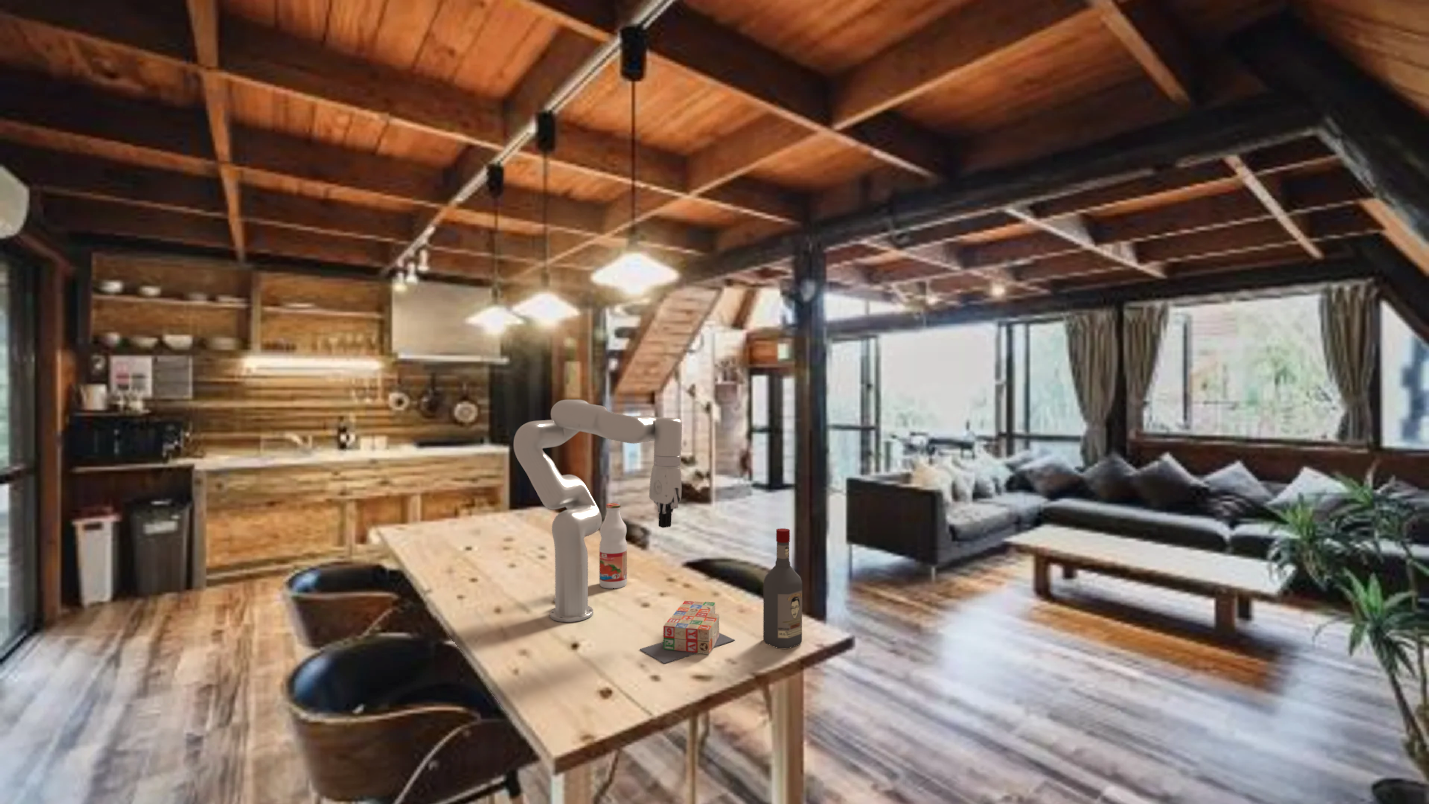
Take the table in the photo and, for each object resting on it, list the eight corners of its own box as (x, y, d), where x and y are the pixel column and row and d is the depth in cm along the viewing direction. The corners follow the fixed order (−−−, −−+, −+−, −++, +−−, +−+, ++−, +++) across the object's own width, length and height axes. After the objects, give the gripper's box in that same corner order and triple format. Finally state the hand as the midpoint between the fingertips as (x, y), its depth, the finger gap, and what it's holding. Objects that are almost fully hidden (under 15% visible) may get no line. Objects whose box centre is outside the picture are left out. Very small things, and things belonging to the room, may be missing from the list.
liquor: (758, 640, 171) (758, 529, 171) (782, 632, 177) (782, 524, 177) (782, 651, 164) (783, 535, 164) (806, 642, 170) (807, 530, 170)
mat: (639, 650, 165) (639, 648, 165) (708, 629, 179) (708, 628, 179) (664, 664, 156) (664, 662, 156) (734, 640, 171) (734, 639, 171)
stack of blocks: (684, 599, 185) (725, 603, 182) (684, 621, 185) (725, 624, 182) (663, 625, 164) (710, 629, 161) (663, 650, 164) (709, 654, 161)
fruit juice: (632, 584, 221) (632, 503, 220) (612, 591, 213) (612, 507, 213) (614, 579, 227) (614, 500, 226) (593, 585, 219) (593, 504, 219)
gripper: (641, 459, 183) (639, 522, 183) (670, 465, 171) (668, 533, 171) (663, 458, 187) (661, 520, 188) (693, 464, 175) (691, 530, 176)
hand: (664, 526), depth 180 cm, fingers closed
